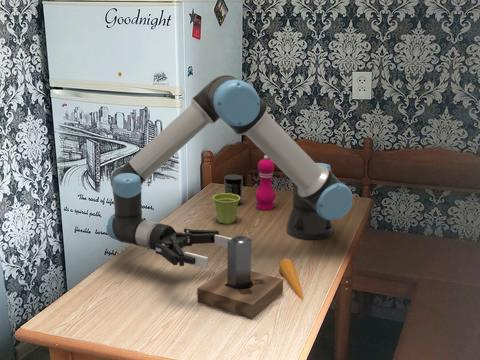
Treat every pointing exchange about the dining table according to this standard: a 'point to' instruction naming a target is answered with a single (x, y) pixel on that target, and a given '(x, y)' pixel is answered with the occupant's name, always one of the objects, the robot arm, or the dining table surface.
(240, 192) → the supplement container
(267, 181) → the pepper mill
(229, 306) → the socket block
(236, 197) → the plant pot
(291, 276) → the carrot
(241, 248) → the d peg
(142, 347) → the dining table surface
